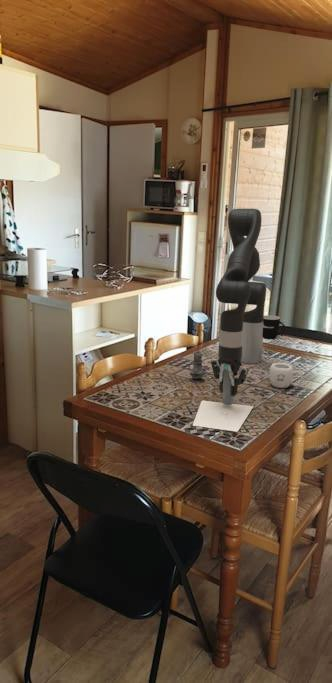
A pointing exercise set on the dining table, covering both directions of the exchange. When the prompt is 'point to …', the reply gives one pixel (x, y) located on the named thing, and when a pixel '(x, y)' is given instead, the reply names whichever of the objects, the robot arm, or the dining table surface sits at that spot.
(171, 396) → the dining table surface
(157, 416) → the dining table surface
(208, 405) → the paper sheet
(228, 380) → the marker
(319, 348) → the dining table surface
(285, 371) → the mug
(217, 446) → the dining table surface
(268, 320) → the mug
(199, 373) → the weathered grey finial
